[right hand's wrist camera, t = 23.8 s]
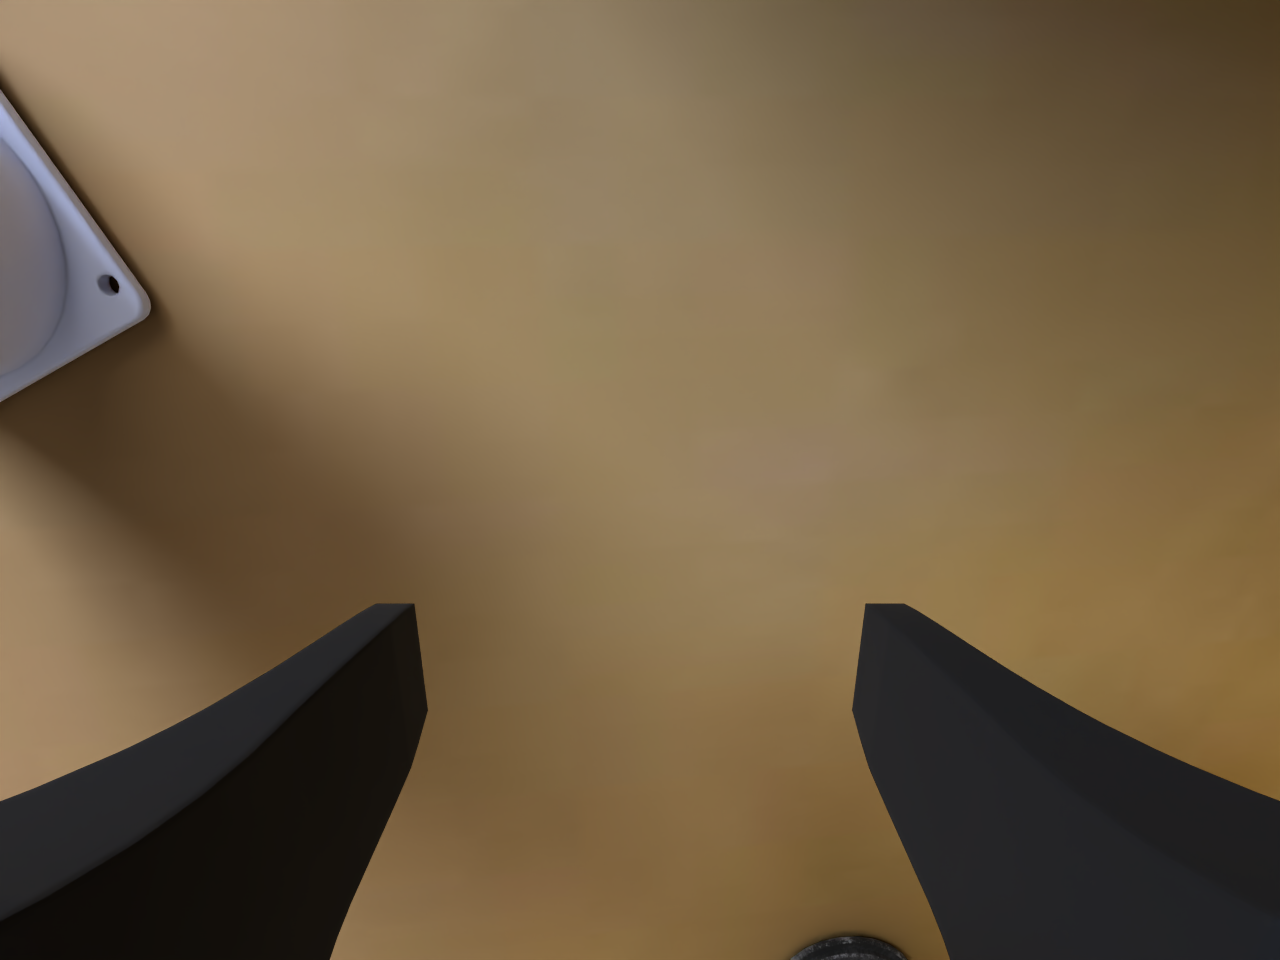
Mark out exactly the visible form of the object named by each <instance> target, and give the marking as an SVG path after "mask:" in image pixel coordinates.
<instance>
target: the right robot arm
mask: <svg viewBox="0 0 1280 960" xmlns="http://www.w3.org/2000/svg"><path fill="white" fill-rule="evenodd" d="M111 276H113V277H114V278H115V279H116V280H117V282H118V284H119V292H118V293H116V292H114V291H113V290H112V289H111V287H110V284H109V278H110V277H111ZM150 310H151V304H150V299H149V297H148V295H147V293H146V292H145V291H144V289H143V288H142V286H141V285H140V284H139V282H138V281H137V279H136V278H135V277H134V275H133V274H132V272H131V271H130V270H129V268H128V267H127V265H126V264H125V263H124V261H123V260H122V258H121V257H120V256H119V254H118V253H117V251H116V250H115V249H114V247H113V246H112V245H111V243H110V242H109V240H108V239H107V238H106V236H105V235H104V233H103V232H102V231H101V229H100V228H99V226H98V225H97V224H96V222H95V221H94V219H93V218H92V217H91V215H90V214H89V212H88V211H87V210H86V208H85V207H84V205H83V204H82V203H81V201H80V200H79V198H78V197H77V196H76V194H75V193H74V192H73V190H72V189H71V187H70V186H69V185H68V183H67V182H66V180H65V179H64V178H63V176H62V175H61V173H60V172H59V171H58V169H57V168H56V166H55V165H54V164H53V162H52V161H51V159H50V158H49V157H48V155H47V154H46V152H45V151H44V150H43V148H42V147H41V145H40V144H39V143H38V141H37V140H36V138H35V137H34V136H33V134H32V133H31V132H30V130H29V129H28V127H27V126H26V125H25V123H24V122H23V120H22V119H21V118H20V116H19V115H18V113H17V112H16V111H15V109H14V108H13V106H12V105H11V104H10V102H9V101H8V99H7V98H6V97H5V95H4V94H3V92H2V91H1V90H0V402H1V401H3V400H5V399H7V398H8V397H10V396H12V395H14V394H15V393H17V392H19V391H20V390H22V389H24V388H26V387H27V386H29V385H31V384H33V383H34V382H36V381H38V380H40V379H41V378H43V377H45V376H47V375H48V374H50V373H52V372H54V371H55V370H57V369H59V368H61V367H62V366H64V365H66V364H67V363H69V362H71V361H73V360H74V359H76V358H78V357H80V356H81V355H83V354H85V353H87V352H88V351H90V350H92V349H94V348H95V347H97V346H99V345H101V344H102V343H104V342H106V341H108V340H109V339H111V338H113V337H114V336H116V335H118V334H120V333H121V332H123V331H125V330H127V329H128V328H130V327H132V326H134V325H135V324H137V323H139V322H141V321H142V320H144V319H145V318H146V317H147V316H148V315H149V313H150ZM427 711H428V708H427V700H426V692H425V684H424V676H423V668H422V660H421V652H420V644H419V636H418V629H417V621H416V613H415V605H414V604H375V605H373V606H371V607H369V608H367V609H365V610H364V611H362V612H360V613H359V614H357V615H355V616H354V617H352V618H351V619H349V620H347V621H346V622H344V623H343V624H341V625H340V626H338V627H337V628H335V629H334V630H332V631H330V632H329V633H327V634H326V635H324V636H323V637H321V638H320V639H318V640H317V641H315V642H314V643H312V644H311V645H309V646H307V647H306V648H304V649H303V650H301V651H300V652H298V653H297V654H295V655H294V656H292V657H290V658H289V659H287V660H286V661H284V662H283V663H281V664H280V665H278V666H276V667H275V668H273V669H272V670H270V671H268V672H267V673H265V674H263V675H261V676H260V677H258V678H256V679H255V680H253V681H251V682H250V683H248V684H246V685H245V686H243V687H241V688H240V689H238V690H236V691H235V692H233V693H231V694H230V695H228V696H226V697H224V698H223V699H221V700H219V701H218V702H216V703H214V704H213V705H211V706H209V707H207V708H205V709H204V710H202V711H200V712H198V713H196V714H194V715H193V716H191V717H189V718H187V719H185V720H183V721H181V722H179V723H177V724H176V725H174V726H172V727H169V728H167V729H165V730H163V731H161V732H159V733H157V734H155V735H153V736H151V737H149V738H147V739H145V740H143V741H141V742H139V743H137V744H135V745H133V746H131V747H129V748H127V749H124V750H122V751H120V752H118V753H116V754H113V755H111V756H109V757H106V758H104V759H102V760H99V761H97V762H95V763H92V764H90V765H88V766H85V767H83V768H81V769H78V770H76V771H74V772H71V773H69V774H67V775H64V776H62V777H60V778H57V779H55V780H53V781H50V782H48V783H46V784H43V785H41V786H39V787H36V788H34V789H31V790H29V791H26V792H24V793H21V794H19V795H16V796H13V797H11V798H8V799H5V800H3V801H0V960H330V957H331V954H332V951H333V948H334V945H335V942H336V940H337V937H338V934H339V932H340V929H341V927H342V924H343V922H344V919H345V917H346V914H347V912H348V909H349V907H350V904H351V902H352V900H353V897H354V895H355V893H356V891H357V888H358V886H359V884H360V882H361V880H362V877H363V875H364V873H365V871H366V868H367V866H368V864H369V862H370V859H371V857H372V855H373V853H374V851H375V848H376V846H377V844H378V842H379V839H380V837H381V835H382V833H383V830H384V828H385V826H386V824H387V822H388V819H389V817H390V815H391V813H392V810H393V808H394V806H395V803H396V801H397V799H398V797H399V794H400V792H401V790H402V788H403V785H404V783H405V781H406V778H407V776H408V774H409V771H410V769H411V766H412V763H413V760H414V756H415V753H416V750H417V747H418V743H419V740H420V736H421V733H422V729H423V726H424V722H425V718H426V715H427ZM852 711H853V715H854V718H855V722H856V726H857V729H858V733H859V736H860V740H861V743H862V747H863V750H864V753H865V756H866V760H867V763H868V766H869V769H870V771H871V774H872V776H873V778H874V781H875V783H876V785H877V788H878V790H879V792H880V794H881V797H882V799H883V801H884V803H885V806H886V808H887V810H888V813H889V815H890V817H891V819H892V822H893V824H894V826H895V828H896V830H897V833H898V835H899V837H900V839H901V842H902V844H903V846H904V848H905V851H906V853H907V855H908V857H909V859H910V862H911V864H912V866H913V868H914V871H915V873H916V875H917V877H918V880H919V882H920V884H921V886H922V888H923V891H924V893H925V895H926V897H927V900H928V902H929V904H930V907H931V909H932V912H933V914H934V917H935V919H936V922H937V924H938V927H939V929H940V932H941V934H942V937H943V940H944V942H945V945H946V948H947V951H948V954H949V957H950V960H1280V801H1278V800H1276V799H1273V798H1270V797H1268V796H1265V795H1262V794H1260V793H1257V792H1255V791H1252V790H1250V789H1247V788H1245V787H1242V786H1240V785H1237V784H1235V783H1233V782H1230V781H1228V780H1225V779H1223V778H1221V777H1218V776H1216V775H1213V774H1211V773H1209V772H1206V771H1204V770H1201V769H1199V768H1197V767H1194V766H1192V765H1189V764H1187V763H1185V762H1183V761H1180V760H1178V759H1176V758H1174V757H1172V756H1169V755H1167V754H1165V753H1163V752H1160V751H1158V750H1156V749H1154V748H1152V747H1150V746H1148V745H1146V744H1144V743H1142V742H1140V741H1138V740H1136V739H1134V738H1132V737H1130V736H1128V735H1126V734H1123V733H1121V732H1119V731H1117V730H1115V729H1113V728H1111V727H1109V726H1107V725H1105V724H1103V723H1101V722H1099V721H1098V720H1096V719H1094V718H1092V717H1090V716H1088V715H1086V714H1084V713H1082V712H1081V711H1079V710H1077V709H1075V708H1073V707H1072V706H1070V705H1068V704H1066V703H1065V702H1063V701H1061V700H1059V699H1058V698H1056V697H1054V696H1052V695H1051V694H1049V693H1047V692H1045V691H1044V690H1042V689H1040V688H1038V687H1037V686H1035V685H1033V684H1032V683H1030V682H1028V681H1027V680H1025V679H1024V678H1022V677H1020V676H1019V675H1017V674H1015V673H1014V672H1012V671H1011V670H1009V669H1007V668H1006V667H1004V666H1003V665H1001V664H999V663H998V662H996V661H995V660H993V659H992V658H990V657H988V656H987V655H985V654H984V653H982V652H981V651H979V650H978V649H976V648H974V647H973V646H971V645H970V644H968V643H967V642H965V641H964V640H962V639H961V638H959V637H958V636H956V635H955V634H953V633H952V632H950V631H948V630H947V629H945V628H944V627H942V626H941V625H939V624H938V623H936V622H935V621H933V620H931V619H930V618H928V617H927V616H925V615H923V614H922V613H920V612H918V611H917V610H915V609H913V608H911V607H910V606H908V605H906V604H866V605H865V613H864V621H863V628H862V636H861V644H860V652H859V660H858V668H857V676H856V684H855V692H854V700H853V708H852Z"/></svg>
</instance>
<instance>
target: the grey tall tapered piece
mask: <svg viewBox="0 0 1280 960" xmlns="http://www.w3.org/2000/svg"><path fill="white" fill-rule="evenodd" d="M790 960H907V959H906V957H905V956H904V955H903V953H901V952H900V951H898V950H897V949H896V948H894V947H893V946H891V945H890V944H887V943H884V942H882V941H879V940H876V939H872V938H865V937H858V936H854V937H837V938H833V939H829V940H824V941H820V942H818V943H816V944H814V945H811V946H809V947H807V948H805V949H803V950H802V951H801V952H799V953H798V954H796V955H795V956H794V957H792V958H791V959H790Z"/></svg>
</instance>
